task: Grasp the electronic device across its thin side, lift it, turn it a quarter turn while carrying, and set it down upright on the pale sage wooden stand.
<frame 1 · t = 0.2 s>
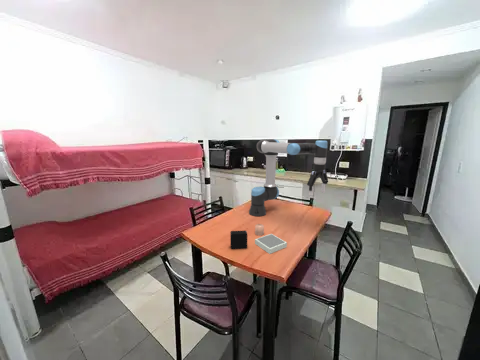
hand: (317, 193, 140), 28 cm above the table, fingers open, 13 cm apart
stand: (270, 245, 126), on the table
electronic device: (238, 247, 124), on the table
pale pink rounded piece: (259, 233, 141), on the table
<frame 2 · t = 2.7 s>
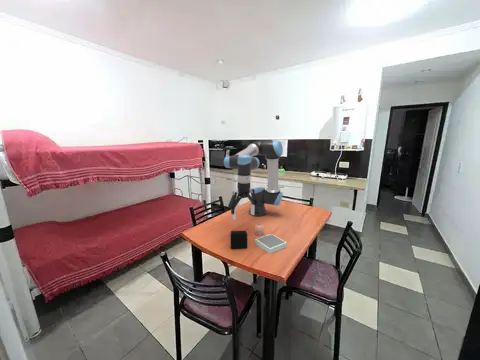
hand: (243, 216, 120), 20 cm above the table, fingers open, 13 cm apart
nothing on the table moved.
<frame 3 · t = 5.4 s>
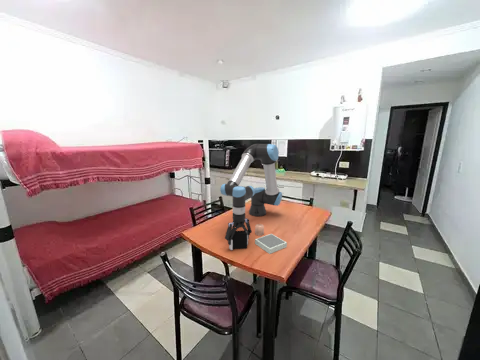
hand: (238, 246, 123), 0 cm above the table, fingers closed on electronic device, 11 cm apart
electronic device: (238, 247, 124), on the table, touching gripper
everything else where it was.
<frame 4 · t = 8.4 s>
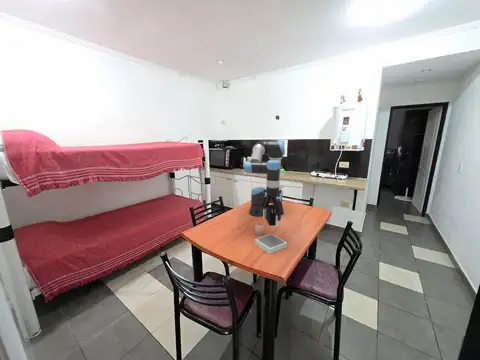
hand: (271, 221, 123), 16 cm above the table, fingers closed on electronic device, 11 cm apart
electronic device: (271, 222, 123), point 15 cm above the table, touching gripper
everything else where it was.
when the fingers open (5 cm above the table, at t = 11.4 s): electronic device drops 1 cm, resting on stand.
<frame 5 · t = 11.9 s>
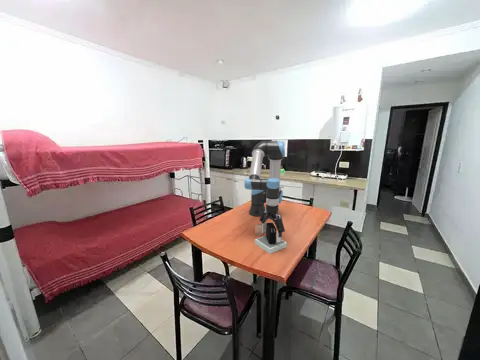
hand: (270, 236, 125), 6 cm above the table, fingers open, 13 cm apart
electronic device: (270, 240, 125), point 3 cm above the table, touching stand
everything else where it was.
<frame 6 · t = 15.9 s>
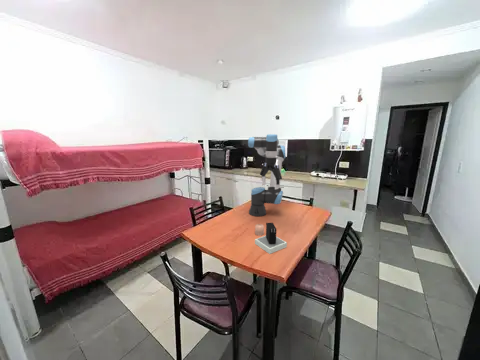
hand: (269, 187, 143), 32 cm above the table, fingers open, 13 cm apart
nothing on the table moved.
at the end: electronic device inside the target area on the stand (0.1 cm from its centre), point 3.1 cm above the stand's base; electronic device tilted 0°; the gripper is holding nothing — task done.
